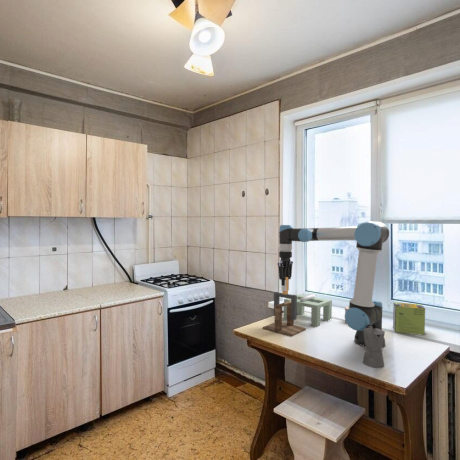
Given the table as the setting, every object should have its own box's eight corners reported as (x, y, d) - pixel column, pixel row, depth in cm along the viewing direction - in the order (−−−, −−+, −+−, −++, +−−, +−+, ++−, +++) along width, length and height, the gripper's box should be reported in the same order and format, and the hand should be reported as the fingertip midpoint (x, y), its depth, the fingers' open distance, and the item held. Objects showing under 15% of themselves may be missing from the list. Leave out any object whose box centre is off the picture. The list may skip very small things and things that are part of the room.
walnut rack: (291, 336, 184) (292, 308, 184) (262, 328, 197) (263, 302, 197) (306, 329, 196) (306, 303, 195) (277, 322, 209) (278, 297, 209)
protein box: (425, 335, 189) (425, 308, 188) (395, 332, 194) (395, 305, 193) (420, 329, 199) (421, 304, 198) (392, 326, 204) (393, 301, 203)
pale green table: (317, 326, 202) (317, 301, 202) (283, 318, 218) (284, 295, 218) (331, 319, 217) (331, 296, 216) (299, 312, 233) (299, 291, 232)
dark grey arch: (294, 320, 190) (294, 278, 190) (273, 315, 200) (274, 276, 200) (296, 319, 192) (297, 278, 192) (276, 314, 202) (276, 275, 201)
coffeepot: (389, 370, 143) (390, 329, 142) (367, 369, 144) (368, 328, 143) (377, 356, 158) (378, 319, 158) (357, 355, 159) (357, 318, 159)
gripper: (287, 249, 204) (286, 287, 204) (272, 251, 192) (272, 291, 193) (297, 250, 199) (297, 289, 199) (283, 252, 187) (283, 293, 188)
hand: (285, 290), depth 196 cm, fingers closed on dark grey arch, 2 cm apart
